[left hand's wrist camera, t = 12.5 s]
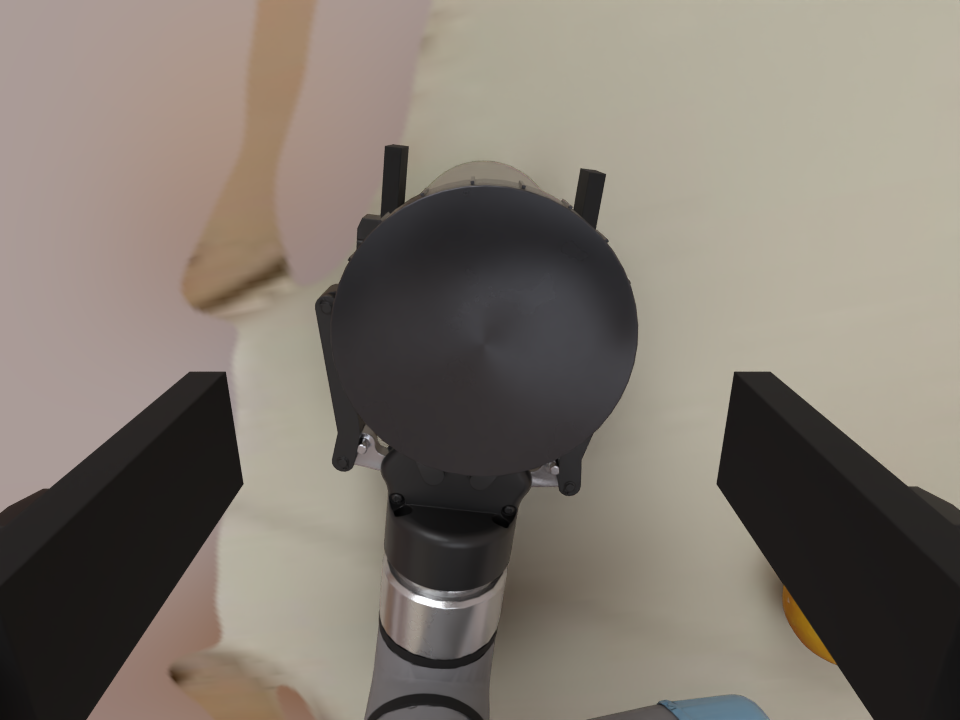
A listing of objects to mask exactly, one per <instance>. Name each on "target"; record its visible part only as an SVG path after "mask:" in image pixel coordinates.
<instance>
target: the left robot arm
mask: <svg viewBox="0 0 960 720" xmlns="http://www.w3.org/2000/svg"><path fill="white" fill-rule="evenodd" d="M242 485H243V478H242V472H241V465H240V459H239V453H238V446H237V440H236V434H235V427H234V421H233V415H232V408H231V402H230V396H229V390H228V383H227V377H226V372H189V373H188V374H186V375H185V376H184V377H183V378H182V379H180V380H179V381H178V382H177V383H176V384H174V385H173V386H172V387H171V388H170V389H168V390H167V391H166V392H165V393H164V394H162V395H161V396H160V397H159V398H158V399H156V400H155V401H154V402H153V403H152V404H150V405H149V406H148V407H147V408H146V409H144V410H143V411H142V412H141V413H140V414H138V415H137V416H136V417H135V418H134V419H132V420H131V421H130V422H129V423H128V424H126V425H125V426H124V427H123V428H122V429H120V430H119V431H118V432H117V433H116V434H114V435H113V436H112V437H111V438H110V439H108V440H107V441H106V442H105V443H104V444H102V445H101V446H100V447H99V448H98V449H96V450H95V451H94V452H93V453H92V454H90V455H89V456H88V457H87V458H86V459H84V460H83V461H82V462H81V463H80V464H78V465H77V466H76V467H75V468H74V469H72V470H71V471H70V472H69V473H68V474H67V475H65V476H64V477H63V478H62V479H60V480H59V481H58V482H57V483H56V484H54V485H53V486H52V487H51V488H50V489H42V490H40V491H38V492H36V493H34V494H32V495H30V496H28V497H26V498H24V499H22V500H20V501H18V502H16V503H15V504H13V505H11V506H9V507H7V508H6V509H5V510H4V511H2V512H1V513H0V720H86V719H87V718H88V716H89V715H90V713H91V712H92V710H93V709H94V707H95V706H96V704H97V703H98V701H99V700H100V698H101V697H102V695H103V694H104V692H105V691H106V689H107V688H108V686H109V685H110V683H111V682H112V680H113V679H114V677H115V676H116V674H117V673H118V671H119V670H120V668H121V667H122V665H123V664H124V662H125V661H126V659H127V658H128V656H129V655H130V653H131V652H132V650H133V649H134V647H135V646H136V644H137V643H138V641H139V640H140V638H141V637H142V635H143V634H144V632H145V631H146V629H147V628H148V626H149V625H150V623H151V622H152V620H153V619H154V617H155V616H156V614H157V613H158V611H159V610H160V608H161V607H162V605H163V604H164V602H165V601H166V599H167V598H168V596H169V595H170V593H171V592H172V590H173V589H174V587H175V586H176V584H177V583H178V581H179V580H180V578H181V577H182V575H183V574H184V572H185V571H186V569H187V568H188V566H189V565H190V563H191V562H192V560H193V559H194V557H195V556H196V554H197V553H198V551H199V550H200V548H201V547H202V545H203V544H204V542H205V541H206V539H207V538H208V536H209V535H210V533H211V532H212V530H213V529H214V527H215V526H216V524H217V523H218V521H219V520H220V518H221V517H222V515H223V514H224V512H225V511H226V509H227V508H228V506H229V505H230V503H231V502H232V500H233V499H234V497H235V496H236V494H237V493H238V491H239V490H240V488H241V487H242ZM717 485H718V487H719V488H720V490H721V491H722V493H723V494H724V496H725V497H726V499H727V500H728V502H729V503H730V505H731V506H732V508H733V509H734V511H735V512H736V514H737V515H738V517H739V518H740V520H741V521H742V523H743V524H744V526H745V527H746V529H747V530H748V532H749V533H750V535H751V536H752V538H753V539H754V541H755V542H756V544H757V545H758V547H759V548H760V550H761V551H762V553H763V554H764V556H765V557H766V559H767V560H768V562H769V563H770V565H771V566H772V568H773V569H774V571H775V572H776V574H777V575H778V577H779V578H780V580H781V581H782V583H783V584H784V586H785V587H786V589H787V590H788V592H789V593H790V595H791V596H792V598H793V599H794V601H795V602H796V604H797V605H798V607H799V608H800V610H801V611H802V613H803V614H804V616H805V617H806V619H807V620H808V622H809V623H810V625H811V626H812V628H813V629H814V631H815V632H816V634H817V635H818V637H819V638H820V640H821V641H822V643H823V644H824V646H825V647H826V649H827V650H828V652H829V653H830V655H831V656H832V658H833V659H834V661H835V662H836V664H837V665H838V667H839V668H840V670H841V671H842V673H843V674H844V676H845V677H846V679H847V680H848V682H849V683H850V685H851V686H852V688H853V689H854V691H855V692H856V694H857V695H858V697H859V698H860V700H861V701H862V703H863V704H864V706H865V707H866V709H867V710H868V712H869V713H870V715H871V716H872V718H873V719H874V720H960V510H959V509H958V508H956V507H955V506H954V505H952V504H951V503H949V502H947V501H945V500H943V499H941V498H939V497H937V496H935V495H933V494H931V493H929V492H927V491H925V490H923V489H921V488H919V487H908V486H907V485H906V484H904V483H903V482H902V481H901V480H900V479H898V478H897V477H896V476H895V475H894V474H892V473H891V472H890V471H889V470H888V469H886V468H885V467H884V466H883V465H882V464H880V463H879V462H878V461H877V460H876V459H874V458H873V457H872V456H871V455H870V454H868V453H867V452H866V451H865V450H864V449H862V448H861V447H860V446H859V445H858V444H856V443H855V442H854V441H853V440H852V439H850V438H849V437H848V436H847V435H846V434H844V433H843V432H842V431H841V430H840V429H838V428H837V427H836V426H835V425H834V424H832V423H831V422H830V421H829V420H828V419H826V418H825V417H824V416H823V415H822V414H820V413H819V412H818V411H817V410H816V409H814V408H813V407H812V406H811V405H810V404H808V403H807V402H806V401H805V400H804V399H802V398H801V397H800V396H799V395H798V394H796V393H795V392H794V391H793V390H792V389H790V388H789V387H788V386H787V385H786V384H784V383H783V382H782V381H781V380H780V379H778V378H777V377H776V376H775V375H774V374H772V373H771V372H734V377H733V383H732V389H731V396H730V402H729V408H728V415H727V421H726V427H725V434H724V440H723V446H722V453H721V459H720V465H719V472H718V478H717Z"/></svg>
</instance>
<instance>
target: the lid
mask: <svg viewBox="0 0 960 720" xmlns="http://www.w3.org/2000/svg"><path fill="white" fill-rule="evenodd" d="M572 208H573V207H572V206H571V205H570V204H569V203H568V202H566V201H565V200H564V199H562V201H560V200H559V199H557V198H555V197H553V196H551V195H549V194H547V193H546V192H544V191H542V190H539V189H536V188H533V187H530V186H528V185H525V184H524V183H523V181H520V180H519V183H516V182H512V181H507V180H498V179H475V176H472V177H471V179H470V180H462V181H457V182H452V183H447V184H444V185H441V186H438V187H435V188H432V189H430V190H429V188H428V187H427V188H425V189H424V190H423V191H422V193H421V194H419V195H417V196H415V197H413V198H411V199H410V200H408V201H407V202H405V203H404V204H403V205H401V206H400V207H398V208H397V209H395V210H394V211H393V212H392V213H391V214H390V213H389V212H388V213H387V214H386V215H384V216H383V217H382V218H381V219H380V220H379V221H378V223H379V225H378V226H377V227H376V228H375V229H374V230H373V231H372V232H371V233H370V234H369V235H368V236H367V237H366V239H365V240H364V241H363V242H362V243H361V245H360V246H359V247H358V248H357V250H356V251H355V252H354V253H353V254H352V255H351V256H350V257H349V259H348V261H349V263H348V264H347V266H346V268H345V270H344V273H343V275H342V277H341V280H340V282H339V284H338V288H337V291H336V295H335V299H334V302H333V308H332V316H331V346H332V353H333V359H334V364H335V367H336V370H337V374H338V377H339V380H340V382H341V384H342V387H343V389H344V391H345V393H346V396H347V397H348V399H349V401H350V402H351V404H352V406H353V407H354V409H355V410H356V412H357V413H358V415H359V416H360V417H361V418H362V420H363V421H364V422H365V423H366V424H367V426H368V427H369V428H370V429H371V430H372V431H373V432H374V433H375V434H376V435H377V436H378V437H380V438H381V439H382V440H383V441H384V442H386V443H387V444H388V445H390V446H391V447H392V448H394V449H395V450H396V451H398V452H400V453H401V454H403V455H405V456H407V457H408V458H410V459H412V460H414V461H416V462H419V463H421V464H423V465H426V466H428V467H431V468H434V469H437V470H441V471H444V472H448V473H453V474H459V475H465V476H480V477H487V476H503V475H509V474H515V473H521V472H524V471H528V470H531V469H535V468H538V467H540V466H543V465H545V464H547V463H550V462H552V461H555V460H556V459H558V458H560V457H562V456H563V455H565V454H567V453H569V452H571V451H572V450H573V449H575V448H576V447H577V446H579V445H580V444H582V443H583V442H584V441H586V440H587V439H588V438H589V437H590V436H591V435H592V434H593V433H594V432H595V431H596V430H597V429H598V428H599V427H600V426H601V425H602V424H603V422H604V421H605V420H606V419H607V418H608V416H609V415H610V414H611V413H612V411H613V409H614V408H615V406H616V405H617V403H618V402H619V400H620V398H621V396H622V394H623V392H624V390H625V388H626V386H627V384H628V381H629V378H630V375H631V372H632V369H633V366H634V362H635V356H636V350H637V345H638V319H637V310H636V304H635V300H634V296H633V292H632V288H631V285H630V284H631V283H630V281H629V280H628V278H627V275H626V273H625V271H624V268H623V267H622V265H621V263H620V261H619V260H618V258H617V256H616V255H615V253H614V251H613V250H612V249H611V247H610V246H609V245H608V244H607V242H609V241H608V239H607V238H606V237H604V236H603V235H602V234H601V233H600V232H599V231H598V230H595V229H594V228H593V227H592V226H591V225H590V224H589V223H588V222H586V221H585V220H584V219H583V218H582V217H581V216H580V215H579V214H578V213H577V212H575V211H574V210H573V209H572Z"/></svg>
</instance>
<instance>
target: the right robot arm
mask: <svg viewBox="0 0 960 720" xmlns="http://www.w3.org/2000/svg"><path fill="white" fill-rule="evenodd" d="M408 149H409V146H402V145H394V144H393V145H388V146H385V154H384V170H383V187H382V203H381V216H379V215H371V214H367V215H366V216H364V217H363V218H362V220H361V222H360V224H359V226H358V229H357V248H358V247H359V246H360V245H361V243H362V242H363V241H364V240H365V239H366V237H367V236H368V235H369V234H370V233H371V232H372V231H373V230H374V229H375V228H376V227H377V226H378V225H379V223H378V221H379V220H380V219H381V218H382V217H383V216H384V215H386V214H387V213H388V212H389V213H390V214H391V213H392V212H393V211H394V210H395V209H397V208H398V207H400V206H401V205H403V204H404V202H405V189H406V176H407V162H408ZM605 177H606V174H604V173H601V172H599V171H596V170H589V169H582V168H581V169H580V175H579V181H578V186H577V192H576V198H575V204H574V211H575V212H577V213H578V214H579V215H580V216H581V217H582V218H583V219H584V220H585V221H586V222H588V223H589V224H590V225H591V226H592V227H593V228H594V229H595V230H596V225H597V220H598V214H599V209H600V204H601V198H602V193H603V188H604V182H605ZM337 288H338V284H334V285H332V286H330V287H329V288H328V289H327V290H326V291H325V292H324V293H323V294H322V295H321V296H320V298H319V299H318V300H317V301H316V304H315V310H316V315H317V321H318V326H319V332H320V337H321V343H322V348H323V354H324V359H325V365H326V370H327V376H328V381H329V387H330V392H331V398H332V403H333V409H334V414H335V420H336V425H337V431H338V435H337V439H336V444H335V449H334V453H333V458H332V464H333V466H334V467H335V468H336V469H337V470H339V471H344V472H346V471H349V470H350V469H352V468H353V466H354V464H355V465H360V466H364V467H368V468H372V469H376V470H381V474H382V477H383V478H384V480H385V482H386V484H387V488H388V501H387V514H386V527H385V539H384V549H385V553H384V557H383V562H382V576H381V591H380V609H379V628H378V637H377V646H376V654H375V664H374V671H373V678H372V684H371V689H370V694H369V699H368V704H367V709H366V714H365V719H364V720H489V685H490V674H491V666H492V658H493V650H494V643H495V636H496V633H497V627H498V623H499V620H500V614H501V608H502V602H503V596H504V590H505V584H506V578H507V565H508V563H509V559H510V554H511V548H512V542H513V536H514V530H515V524H516V518H517V513H518V507H519V504H520V502H521V500H522V499H523V497H524V496H525V495H526V494H527V493H528V491H529V490H530V488H531V487H553V486H559V491H560V492H561V493H562V494H564V495H566V496H572V495H575V494H576V493H578V491H579V490H580V487H581V460H582V457H583V455H584V453H585V451H586V449H587V446H588V444H589V442H590V440H591V437H592V435H593V434H592V435H591V436H590V437H589V438H588V439H587V440H586V441H584V442H583V443H582V444H580V445H579V446H577V447H576V448H575V449H573V450H572V451H571V452H569V453H567V454H565V455H563V456H562V457H560V458H558V459H556V460H555V461H552V462H550V463H547V464H545V465H543V466H540V467H538V468H535V469H531V470H528V471H524V472H521V473H515V474H509V475H503V476H487V477H480V476H465V475H459V474H453V473H448V472H444V471H441V470H437V469H434V468H431V467H428V466H426V465H423V464H421V463H419V462H416V461H414V460H412V459H410V458H408V457H407V456H405V455H403V454H401V453H400V452H398V451H396V450H395V449H394V448H392V447H391V446H389V447H388V448H386V447H383V446H382V445H381V444H380V443H379V442H378V438H377V435H376V434H375V433H374V432H373V431H372V430H371V429H370V428H369V427H368V426H367V425H366V423H365V422H364V421H363V420H362V418H361V417H360V416H359V415H358V413H357V412H356V410H355V409H354V407H353V406H352V404H351V402H350V401H349V399H348V397H347V396H346V393H345V391H344V389H343V387H342V384H341V382H340V380H339V377H338V374H337V370H336V367H335V364H334V359H333V353H332V346H331V316H332V308H333V302H334V299H335V295H336V291H337ZM588 720H770V719H769V718H768V716H767V715H766V714H765V713H764V711H763V710H762V709H761V708H760V707H759V706H758V705H757V704H756V703H755V702H753V701H752V700H750V699H748V698H746V697H744V696H740V695H723V696H714V697H706V698H698V699H689V700H681V701H673V702H672V701H669V700H663V701H659V702H658V703H657V705H652V706H647V707H643V708H638V709H634V710H629V711H624V712H620V713H615V714H611V715H606V716H601V717H597V718H592V719H588Z"/></svg>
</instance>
